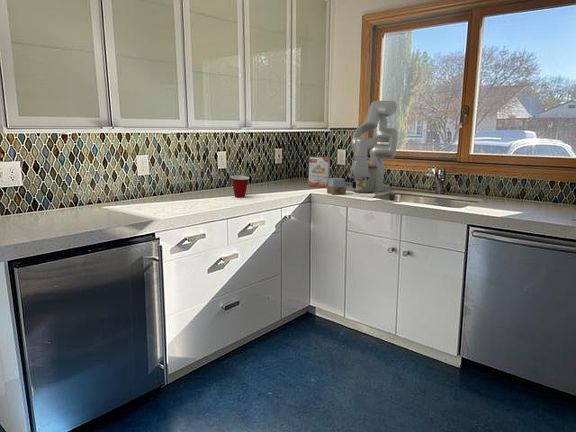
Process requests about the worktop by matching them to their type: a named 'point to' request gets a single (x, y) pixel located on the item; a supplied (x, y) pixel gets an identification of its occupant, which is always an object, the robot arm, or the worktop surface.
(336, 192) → the tower base
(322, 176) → the cracker box
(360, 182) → the oak cube
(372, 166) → the canister
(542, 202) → the worktop surface
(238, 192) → the plastic cup
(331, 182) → the tower top
